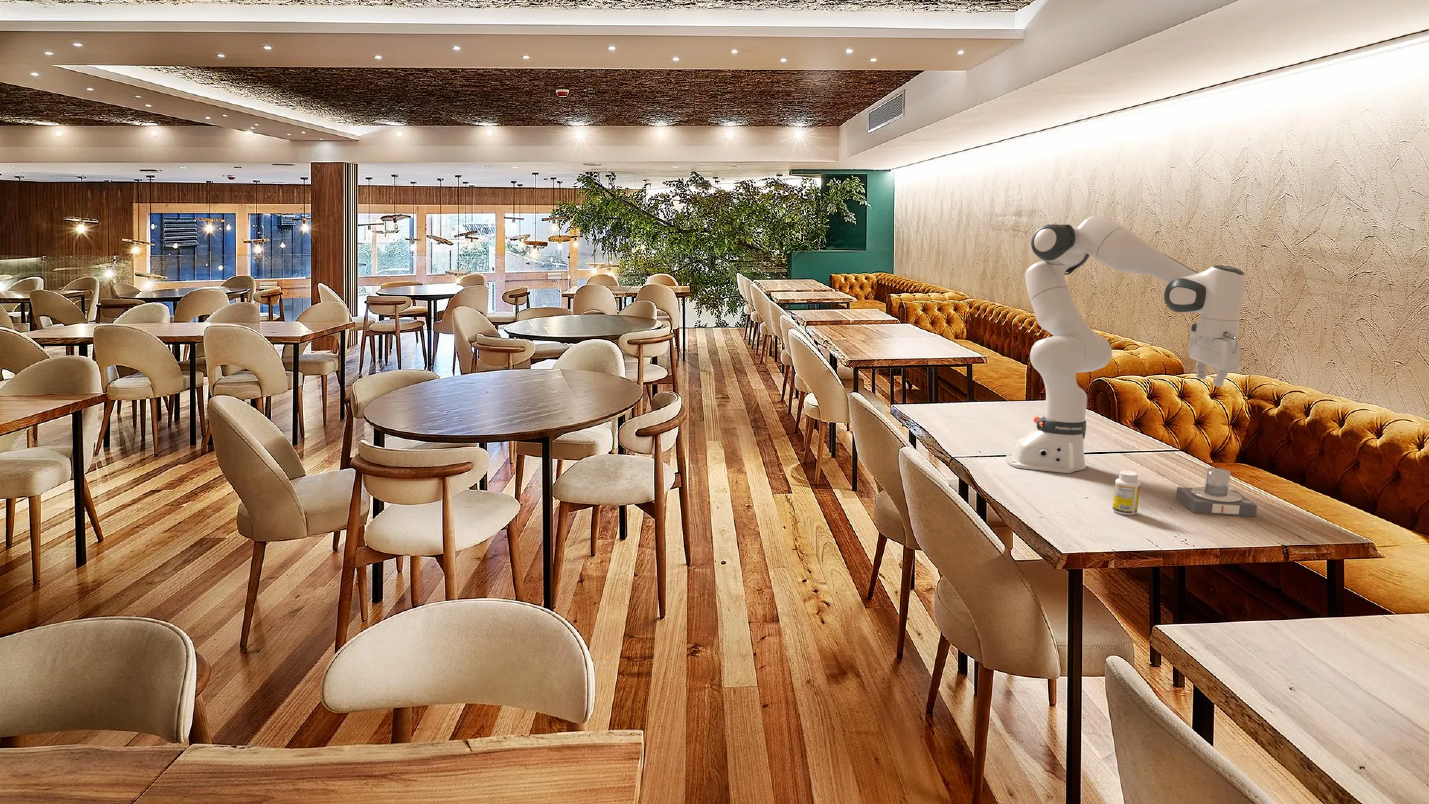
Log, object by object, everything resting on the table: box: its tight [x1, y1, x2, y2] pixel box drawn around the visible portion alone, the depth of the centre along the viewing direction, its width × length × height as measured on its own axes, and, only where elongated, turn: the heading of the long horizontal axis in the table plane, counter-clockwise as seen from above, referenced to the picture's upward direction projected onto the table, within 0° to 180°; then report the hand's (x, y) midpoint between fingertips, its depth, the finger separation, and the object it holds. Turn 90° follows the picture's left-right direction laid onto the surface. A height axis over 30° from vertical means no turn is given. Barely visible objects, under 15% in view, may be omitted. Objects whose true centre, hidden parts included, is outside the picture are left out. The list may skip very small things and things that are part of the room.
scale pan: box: [1191, 486, 1242, 503], centre depth 206 cm, size 11×11×1 cm
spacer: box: [1204, 467, 1231, 497], centre depth 205 cm, size 5×5×6 cm
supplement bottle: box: [1112, 470, 1141, 516], centre depth 201 cm, size 6×6×10 cm
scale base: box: [1175, 486, 1258, 518], centre depth 206 cm, size 14×12×3 cm
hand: (1209, 382), depth 212 cm, fingers open, 8 cm apart
